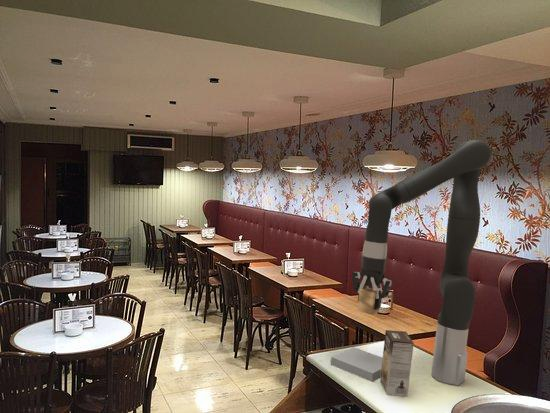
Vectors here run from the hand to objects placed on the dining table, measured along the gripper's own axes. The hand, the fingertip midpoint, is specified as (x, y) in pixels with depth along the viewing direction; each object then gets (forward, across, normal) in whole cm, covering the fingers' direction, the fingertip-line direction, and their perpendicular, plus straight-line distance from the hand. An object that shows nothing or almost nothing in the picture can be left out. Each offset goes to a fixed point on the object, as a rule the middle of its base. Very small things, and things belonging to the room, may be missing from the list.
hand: (368, 306), depth 145 cm
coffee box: (+20, -15, +7) cm, 25 cm away
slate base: (+19, -1, +1) cm, 20 cm away
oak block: (+1, 0, 0) cm, 1 cm away
